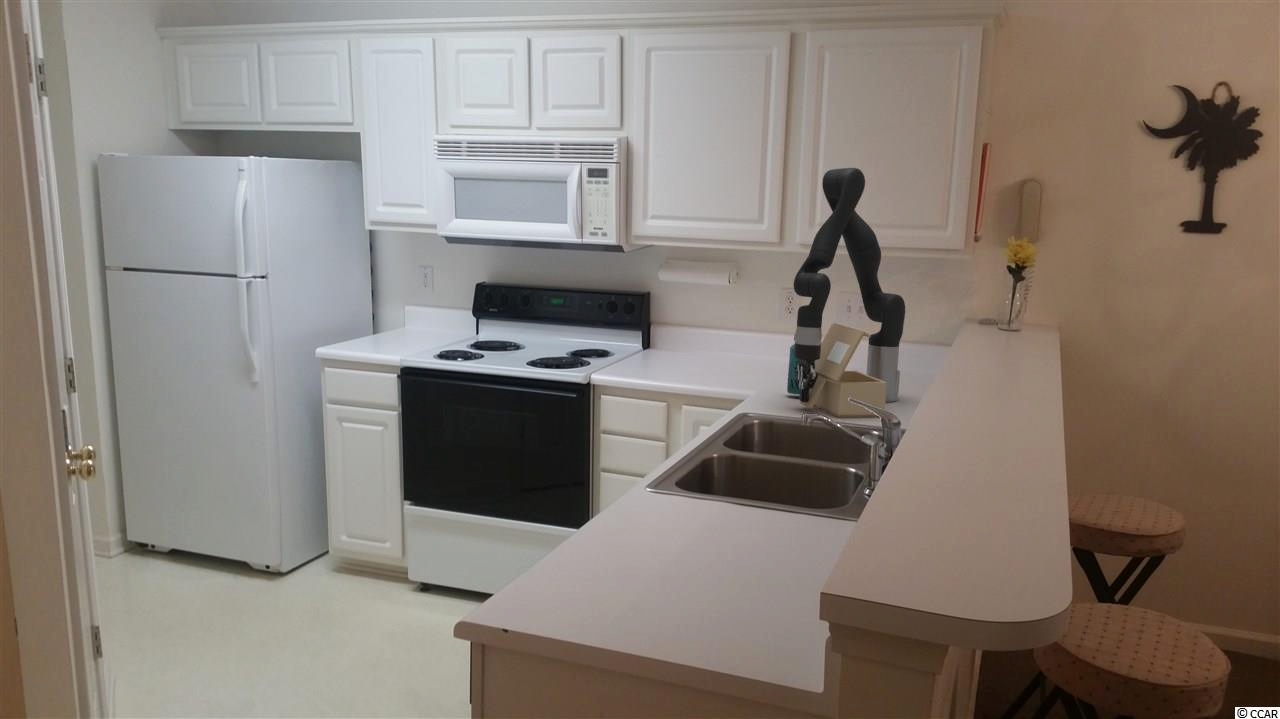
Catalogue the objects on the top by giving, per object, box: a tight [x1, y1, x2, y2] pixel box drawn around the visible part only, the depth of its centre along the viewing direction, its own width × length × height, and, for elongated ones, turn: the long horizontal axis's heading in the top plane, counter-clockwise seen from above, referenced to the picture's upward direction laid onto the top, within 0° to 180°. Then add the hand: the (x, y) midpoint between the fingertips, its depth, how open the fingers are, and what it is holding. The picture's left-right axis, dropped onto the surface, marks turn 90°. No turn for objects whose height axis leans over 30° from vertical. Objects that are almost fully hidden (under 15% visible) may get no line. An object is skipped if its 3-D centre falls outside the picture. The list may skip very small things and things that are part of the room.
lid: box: [799, 322, 872, 410], centre depth 273 cm, size 26×21×3 cm
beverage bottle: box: [786, 335, 801, 395], centre depth 292 cm, size 6×7×20 cm
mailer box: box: [813, 370, 887, 419], centre depth 275 cm, size 14×20×10 cm
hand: (803, 401), depth 273 cm, fingers closed
